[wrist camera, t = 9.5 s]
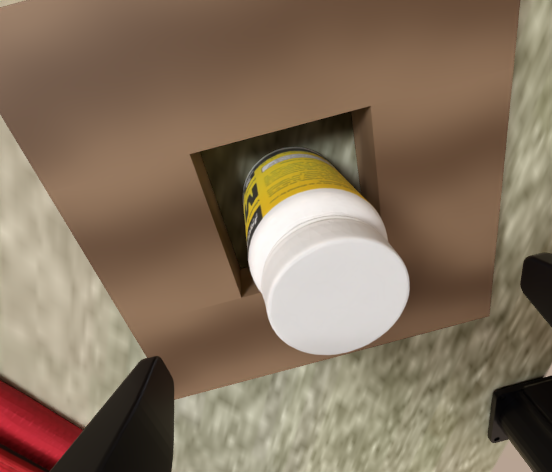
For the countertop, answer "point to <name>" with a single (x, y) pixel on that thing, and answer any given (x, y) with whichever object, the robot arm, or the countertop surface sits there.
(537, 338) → the countertop surface
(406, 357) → the countertop surface
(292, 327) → the supplement bottle
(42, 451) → the red folded cloth
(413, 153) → the socket board
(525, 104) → the countertop surface
